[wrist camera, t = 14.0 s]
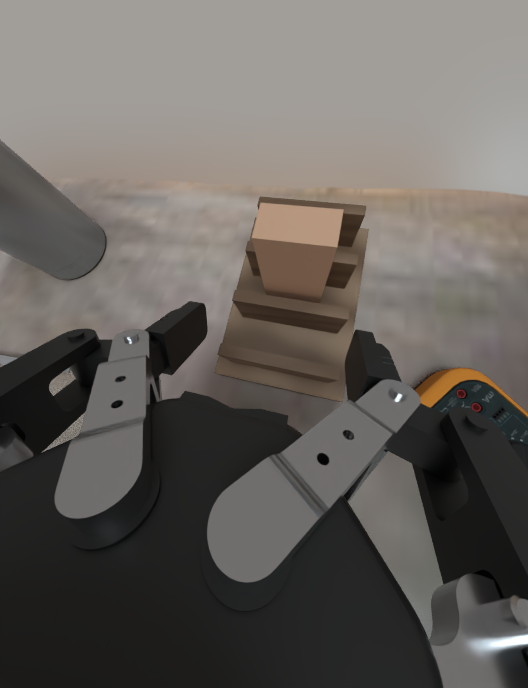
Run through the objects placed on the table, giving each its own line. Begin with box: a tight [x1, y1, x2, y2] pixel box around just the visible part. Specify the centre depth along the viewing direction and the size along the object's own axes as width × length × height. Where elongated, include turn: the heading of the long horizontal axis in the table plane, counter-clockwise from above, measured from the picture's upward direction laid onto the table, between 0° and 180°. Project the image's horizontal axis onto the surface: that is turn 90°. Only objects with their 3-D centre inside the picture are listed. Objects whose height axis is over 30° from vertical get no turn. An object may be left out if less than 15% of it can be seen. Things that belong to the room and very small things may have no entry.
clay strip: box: [252, 203, 344, 303], centre depth 18 cm, size 2×5×11 cm, turn 78°
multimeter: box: [414, 368, 528, 469], centre depth 18 cm, size 9×18×3 cm, turn 41°
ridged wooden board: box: [214, 197, 369, 402], centre depth 22 cm, size 19×13×6 cm
